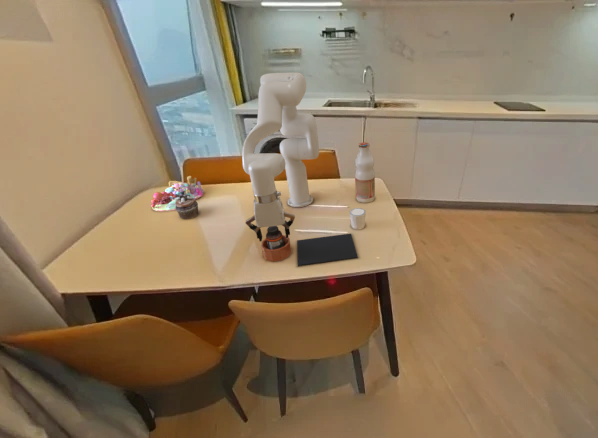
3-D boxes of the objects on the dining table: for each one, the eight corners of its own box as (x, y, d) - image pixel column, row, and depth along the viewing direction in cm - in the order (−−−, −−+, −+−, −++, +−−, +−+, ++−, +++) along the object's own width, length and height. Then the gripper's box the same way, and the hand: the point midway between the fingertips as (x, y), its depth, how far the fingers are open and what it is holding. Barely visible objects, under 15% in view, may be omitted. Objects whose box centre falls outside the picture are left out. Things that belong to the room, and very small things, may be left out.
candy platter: (157, 194, 171) (151, 178, 166) (204, 185, 178) (199, 170, 173) (150, 215, 151) (143, 197, 146) (203, 204, 158) (198, 188, 153)
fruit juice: (361, 204, 152) (359, 148, 137) (352, 197, 159) (350, 142, 145) (378, 200, 155) (378, 144, 141) (369, 193, 163) (368, 139, 148)
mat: (297, 241, 127) (297, 240, 127) (351, 234, 130) (351, 233, 130) (297, 266, 114) (297, 265, 113) (357, 258, 117) (357, 256, 116)
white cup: (364, 230, 132) (364, 216, 129) (348, 229, 134) (347, 215, 130) (367, 222, 138) (367, 208, 134) (352, 221, 139) (351, 207, 136)
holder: (264, 246, 125) (262, 236, 122) (291, 243, 126) (289, 233, 124) (262, 263, 116) (260, 252, 114) (291, 259, 117) (289, 248, 115)
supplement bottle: (271, 248, 124) (265, 224, 118) (286, 247, 124) (281, 223, 118) (268, 258, 118) (262, 233, 113) (284, 257, 119) (279, 231, 113)
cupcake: (173, 218, 147) (166, 199, 142) (190, 208, 155) (183, 190, 150) (189, 221, 144) (182, 202, 139) (205, 211, 152) (199, 192, 147)
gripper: (291, 189, 113) (297, 229, 122) (241, 194, 111) (251, 235, 119) (291, 198, 107) (297, 240, 115) (238, 204, 104) (249, 246, 113)
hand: (274, 237), depth 117 cm, fingers open, 9 cm apart
